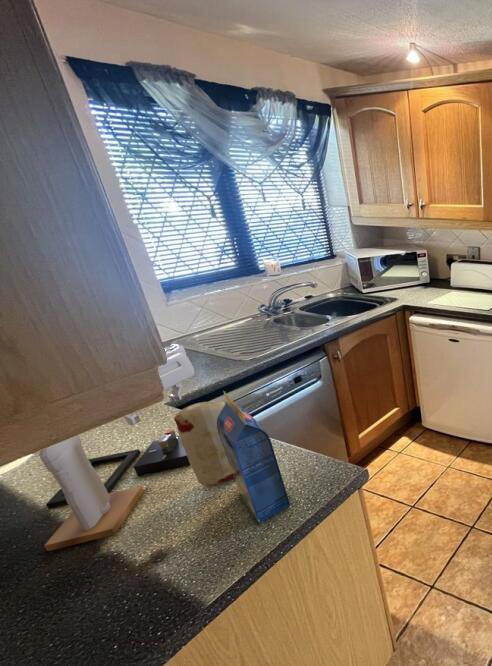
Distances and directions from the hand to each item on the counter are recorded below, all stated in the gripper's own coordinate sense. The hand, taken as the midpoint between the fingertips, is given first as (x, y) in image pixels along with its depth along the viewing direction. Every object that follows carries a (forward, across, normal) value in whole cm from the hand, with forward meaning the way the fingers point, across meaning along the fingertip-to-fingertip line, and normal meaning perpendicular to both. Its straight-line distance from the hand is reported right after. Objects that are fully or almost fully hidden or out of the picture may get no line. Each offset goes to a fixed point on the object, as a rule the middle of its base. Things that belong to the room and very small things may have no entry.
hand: (156, 411), depth 91 cm
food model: (+14, +3, +19) cm, 24 cm away
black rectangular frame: (+14, +10, -10) cm, 20 cm away
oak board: (+14, +18, +4) cm, 23 cm away
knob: (+10, 0, 0) cm, 10 cm away
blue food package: (+14, +7, +33) cm, 37 cm away
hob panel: (+14, 0, 0) cm, 14 cm away
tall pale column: (+12, +18, +4) cm, 22 cm away
